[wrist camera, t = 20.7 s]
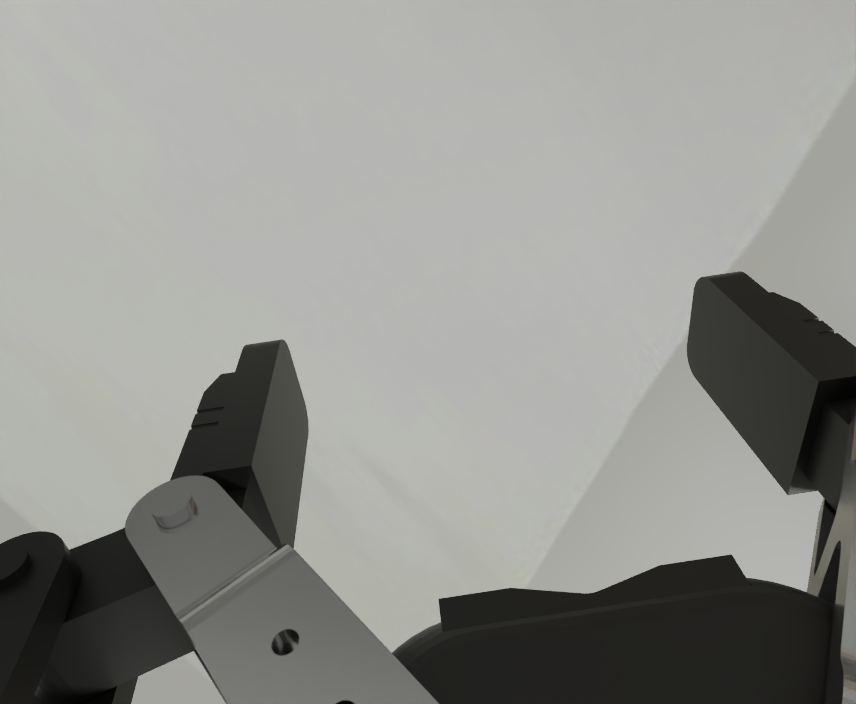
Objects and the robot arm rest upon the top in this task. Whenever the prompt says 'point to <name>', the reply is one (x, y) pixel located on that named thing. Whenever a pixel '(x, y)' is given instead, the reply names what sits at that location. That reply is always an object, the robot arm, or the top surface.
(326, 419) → the top surface
